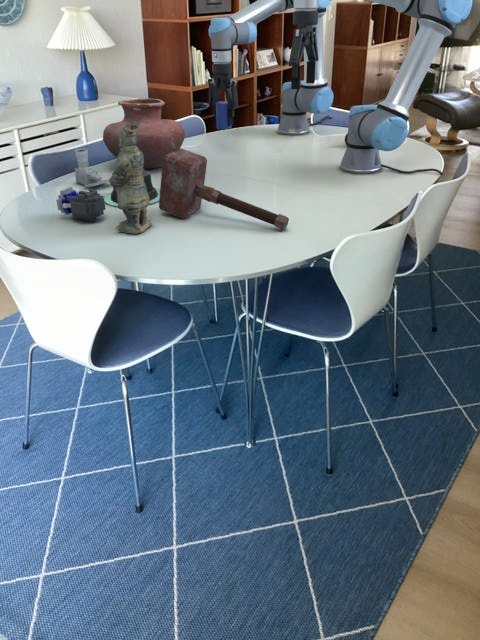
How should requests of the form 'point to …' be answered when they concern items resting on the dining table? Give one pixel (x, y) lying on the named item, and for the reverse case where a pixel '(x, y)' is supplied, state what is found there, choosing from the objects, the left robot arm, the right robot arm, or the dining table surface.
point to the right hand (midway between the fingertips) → (303, 86)
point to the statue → (131, 182)
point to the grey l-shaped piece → (86, 170)
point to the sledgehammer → (200, 190)
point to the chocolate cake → (152, 192)
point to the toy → (81, 204)
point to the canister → (222, 115)
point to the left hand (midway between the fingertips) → (224, 124)
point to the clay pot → (146, 131)
